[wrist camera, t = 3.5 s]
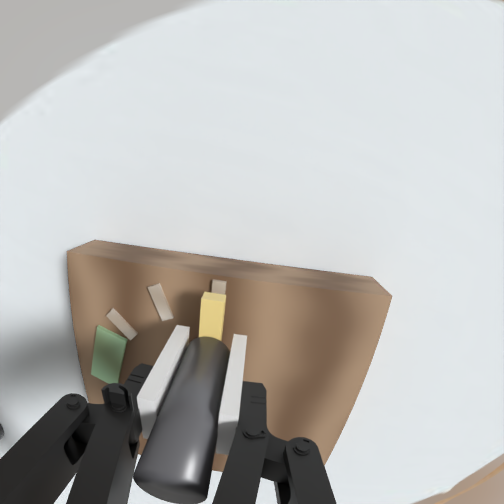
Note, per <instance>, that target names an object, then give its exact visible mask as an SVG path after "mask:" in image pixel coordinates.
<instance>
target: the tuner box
mask: <svg viewBox="0 0 504 504" xmlns="http://www.w3.org/2000/svg"><path fill="white" fill-rule="evenodd" d="M67 265H68V281H69V293H70V303H71V311H72V319H73V327H74V333H75V340H76V346H77V351H78V357H79V362H80V367H81V371H82V376H83V380H84V385H85V389H86V393H87V397H88V401H89V403H92V404H104V400H103V395H102V391H101V390H102V388H103V387H104V386H106V385H108V384H111V383H121V384H124V383H125V381H126V380H127V378H128V377H129V375H130V374H131V372H132V370H133V369H134V368H135V367H136V366H138V365H139V364H141V363H143V364H147V365H152V366H154V365H155V363H156V361H157V359H158V357H159V356H160V354H161V352H162V350H163V349H164V347H165V345H166V343H167V341H168V340H169V338H170V336H171V334H172V333H173V331H174V329H175V327H176V326H177V325H181V326H186V327H190V328H189V343H190V342H191V341H192V340H194V339H195V338H198V337H199V325H200V309H201V298H202V296H203V294H204V292H210V293H217V294H224V295H226V303H225V313H224V322H223V332H222V342H223V343H224V344H225V345H226V346H227V347H228V349H229V351H230V352H231V347H232V341H233V336H234V334H238V335H246V336H247V343H246V352H245V362H244V372H243V381H248V382H257V383H263V385H264V387H265V388H266V390H267V398H266V399H267V404H266V405H267V428H268V430H269V432H270V433H271V434H272V435H274V436H275V437H277V438H280V439H282V440H286V441H289V440H291V439H293V438H296V437H305V438H308V439H311V440H312V441H314V442H315V443H316V445H317V446H318V449H319V452H320V455H321V458H322V461H323V464H324V465H325V463H326V462H327V460H328V458H329V456H330V454H331V452H332V450H333V448H334V446H335V444H336V442H337V440H338V438H339V436H340V434H341V432H342V430H343V428H344V426H345V424H346V422H347V419H348V417H349V415H350V413H351V410H352V408H353V406H354V404H355V401H356V399H357V397H358V394H359V392H360V389H361V387H362V384H363V382H364V379H365V377H366V374H367V372H368V369H369V366H370V364H371V361H372V358H373V355H374V353H375V350H376V347H377V344H378V341H379V338H380V335H381V332H382V329H383V326H384V322H385V319H386V316H387V313H388V309H389V306H390V302H391V299H392V295H391V294H390V293H389V292H387V291H386V290H385V289H384V288H383V287H382V286H381V285H380V284H379V283H378V282H377V281H376V280H375V279H374V278H373V277H368V276H360V275H352V274H344V273H336V272H328V271H320V270H312V269H304V268H296V267H288V266H281V265H273V264H265V263H258V262H250V261H243V260H235V259H228V258H220V257H213V256H206V255H198V254H191V253H184V252H177V251H169V250H162V249H155V248H148V247H141V246H134V245H127V244H120V243H113V242H106V241H99V240H93V241H91V242H88V243H86V244H83V245H81V246H78V247H76V248H74V249H71V250H69V251H67ZM147 440H148V439H145V438H143V434H142V432H141V434H140V437H139V441H140V446H139V451H138V454H140V455H141V454H142V452H143V450H144V447H145V445H146V442H147ZM227 458H228V455H225V454H218V453H216V449H215V455H214V461H213V466H212V470H214V471H221V472H223V470H224V467H225V464H226V461H227Z"/></svg>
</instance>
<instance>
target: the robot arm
mask: <svg viewBox="0 0 504 504" xmlns="http://www.w3.org/2000/svg"><path fill="white" fill-rule="evenodd" d="M189 328H190V327H186V326H181V325H177V326H176V327H175V329H174V331H173V333H172V334H171V336H170V338H169V340H168V341H167V343H166V345H165V347H164V349H163V350H162V352H161V354H160V356H159V357H158V359H157V361H156V363H155V365H154V366H152V365H147V364H143V363H141V364H139V365H138V366H136V367H135V368H134V369H133V370H132V372H131V374H130V375H129V377H128V378H127V380H126V381H125V383H124V384H121V383H111V384H108V385H106V386H104V387H103V388H102V390H101V391H102V395H103V400H104V404H92V403H87V401H86V399H85V398H84V397H83V396H81V395H79V394H68V395H65V396H64V397H62V398H61V399H60V400H59V401H58V402H57V403H56V404H55V405H54V406H53V407H52V408H51V409H50V410H49V411H48V412H47V413H46V414H45V415H44V416H43V417H42V418H41V419H40V420H39V421H38V422H37V423H36V424H34V425H33V426H32V427H31V428H30V429H29V430H28V431H27V432H26V433H25V434H24V435H23V436H22V437H21V438H20V439H19V440H18V441H17V443H16V444H15V445H14V446H13V447H12V448H11V449H10V450H9V451H8V452H7V453H6V454H5V455H4V456H3V457H2V458H1V459H0V504H54V502H55V501H56V500H57V498H58V497H59V495H60V494H61V493H62V491H63V490H64V489H65V487H66V486H67V485H68V483H69V482H70V481H71V479H72V478H73V477H74V475H75V474H76V473H77V474H76V476H75V479H74V482H73V485H72V488H71V491H70V494H69V497H68V500H67V503H66V504H127V502H128V497H129V492H130V487H131V482H132V478H133V473H134V468H135V464H136V459H137V455H138V451H139V446H140V441H139V437H140V434H141V432H142V434H143V438H145V439H148V437H149V435H150V433H151V430H152V428H153V425H154V423H155V421H156V418H157V416H158V413H159V411H160V409H161V406H162V404H163V402H164V399H165V397H166V394H167V392H168V390H169V387H170V385H171V383H172V380H173V378H174V376H175V373H176V371H177V369H178V366H179V364H180V362H181V360H182V357H183V355H184V353H185V350H186V348H187V346H188V344H189ZM246 343H247V336H246V335H238V334H234V336H233V341H232V347H231V352H230V358H229V363H228V368H227V374H226V379H225V385H224V390H223V396H222V401H221V406H220V412H219V420H218V431H217V432H218V437H217V443H216V453H218V454H225V455H228V458H227V461H226V464H225V467H224V470H223V473H222V476H221V479H220V482H219V485H218V488H217V491H216V494H215V497H214V500H213V503H212V504H255V502H256V498H257V493H258V488H259V483H260V478H261V477H262V478H265V479H268V480H271V481H274V485H275V491H276V497H277V503H278V504H336V501H335V498H334V495H333V492H332V489H331V485H330V482H329V479H328V476H327V473H326V470H325V467H324V464H323V461H322V458H321V455H320V452H319V449H318V446H317V445H316V443H315V442H314V441H312V440H311V439H308V438H305V437H296V438H293V439H291V440H289V441H286V440H282V439H280V438H277V437H275V436H274V435H272V434H271V433H270V432H269V430H268V428H267V405H266V404H267V399H266V398H267V390H266V388H265V387H264V385H263V383H257V382H248V381H243V372H244V362H245V352H246ZM3 435H4V432H3V429H2V427H1V425H0V439H1V438H2V437H3Z"/></svg>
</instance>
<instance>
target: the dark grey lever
mask: <svg viewBox="0 0 504 504" xmlns="http://www.w3.org/2000/svg"><path fill="white" fill-rule="evenodd" d="M225 303H226V295H224V294H217V293H210V292H204V294H203V296H202V298H201V309H200V325H199V337H198V338H195V339H194V340H192V341H191V342H190V343H189V344H188V346H187V348H186V350H185V353H184V355H183V357H182V360H181V362H180V364H179V366H178V369H177V371H176V373H175V376H174V378H173V380H172V383H171V385H170V387H169V390H168V392H167V394H166V397H165V399H164V402H163V404H162V406H161V409H160V411H159V413H158V416H157V418H156V421H155V423H154V425H153V428H152V430H151V433H150V435H149V437H148V440H147V442H146V445H145V447H144V450H143V452H142V454H141V457H140V459H139V462H138V464H137V467H136V469H135V472H134V474H133V479H134V481H135V482H136V484H137V485H138V486H139V487H140V488H141V489H142V490H144V491H145V492H147V493H148V494H150V495H152V496H154V497H156V498H159V499H161V500H164V501H167V502H171V503H176V504H198V503H201V502H203V501H205V500H206V499H207V496H208V490H209V484H210V478H211V472H212V466H213V461H214V455H215V449H216V443H217V437H218V432H217V431H218V420H219V412H220V406H221V401H222V396H223V390H224V385H225V379H226V374H227V368H228V363H229V358H230V351H229V349H228V347H227V346H226V345H225V344H224V343H223V342H222V332H223V322H224V313H225Z"/></svg>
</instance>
